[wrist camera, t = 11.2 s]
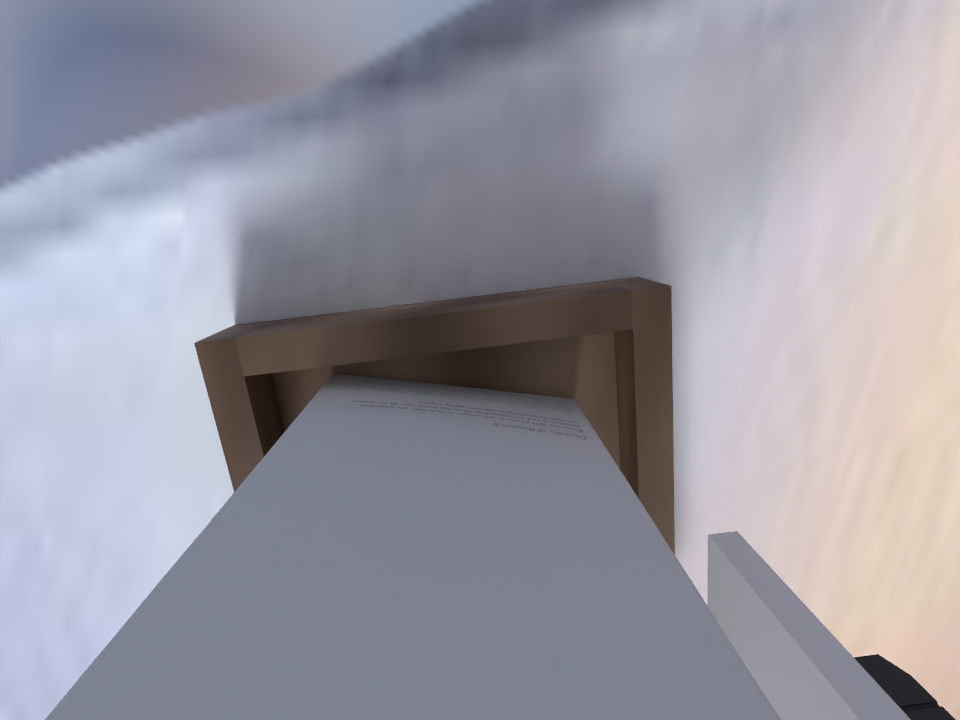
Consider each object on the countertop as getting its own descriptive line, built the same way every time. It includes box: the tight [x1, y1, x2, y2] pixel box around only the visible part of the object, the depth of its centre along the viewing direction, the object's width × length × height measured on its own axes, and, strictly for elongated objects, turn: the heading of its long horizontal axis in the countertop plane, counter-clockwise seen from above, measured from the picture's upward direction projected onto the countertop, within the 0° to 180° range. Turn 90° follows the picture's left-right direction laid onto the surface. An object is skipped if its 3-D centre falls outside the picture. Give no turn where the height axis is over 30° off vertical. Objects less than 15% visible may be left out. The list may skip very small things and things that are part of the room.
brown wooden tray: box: [194, 277, 675, 555], centre depth 18 cm, size 14×14×3 cm
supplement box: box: [45, 374, 781, 720], centre depth 12 cm, size 9×9×15 cm
